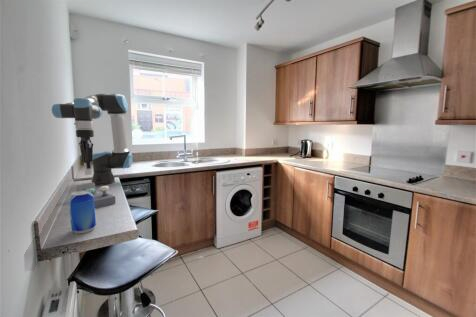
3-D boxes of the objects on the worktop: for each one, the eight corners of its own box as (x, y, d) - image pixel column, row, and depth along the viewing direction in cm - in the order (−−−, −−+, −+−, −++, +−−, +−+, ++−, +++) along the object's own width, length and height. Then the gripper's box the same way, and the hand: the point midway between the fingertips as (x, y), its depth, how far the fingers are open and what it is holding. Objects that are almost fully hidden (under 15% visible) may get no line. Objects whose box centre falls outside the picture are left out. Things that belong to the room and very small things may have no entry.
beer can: (93, 223, 101) (90, 188, 99) (98, 230, 95) (95, 192, 93) (70, 229, 96) (66, 192, 93) (73, 236, 90) (69, 196, 87)
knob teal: (93, 197, 126) (92, 187, 126) (96, 199, 124) (96, 189, 123) (84, 199, 123) (83, 189, 122) (87, 201, 120) (86, 191, 119)
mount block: (106, 198, 135) (106, 192, 135) (115, 203, 128) (115, 196, 127) (81, 204, 125) (80, 197, 125) (89, 209, 118) (88, 202, 117)
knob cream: (107, 194, 132) (106, 185, 131) (110, 196, 129) (109, 186, 128) (98, 196, 128) (98, 186, 128) (102, 198, 126) (101, 188, 125)
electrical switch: (79, 201, 130) (77, 185, 129) (76, 200, 133) (74, 184, 132) (97, 197, 137) (95, 182, 136) (94, 197, 140) (92, 182, 140)
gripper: (71, 129, 119) (75, 174, 122) (80, 129, 111) (84, 177, 114) (88, 129, 125) (91, 172, 128) (97, 129, 117) (101, 175, 120)
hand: (88, 174), depth 121 cm, fingers closed
